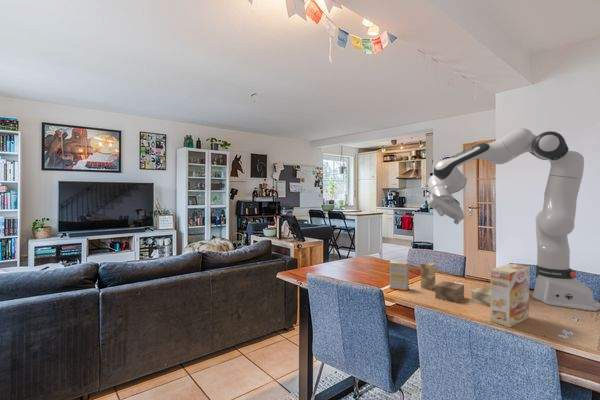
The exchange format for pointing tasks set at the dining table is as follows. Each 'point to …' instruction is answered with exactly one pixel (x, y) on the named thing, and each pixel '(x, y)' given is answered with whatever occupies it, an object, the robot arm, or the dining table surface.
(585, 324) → the dining table surface
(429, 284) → the oak pillar
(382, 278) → the dining table surface
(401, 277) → the supplement box
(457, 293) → the walnut block
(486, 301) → the beech block
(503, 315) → the coffeecake box
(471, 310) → the dining table surface
